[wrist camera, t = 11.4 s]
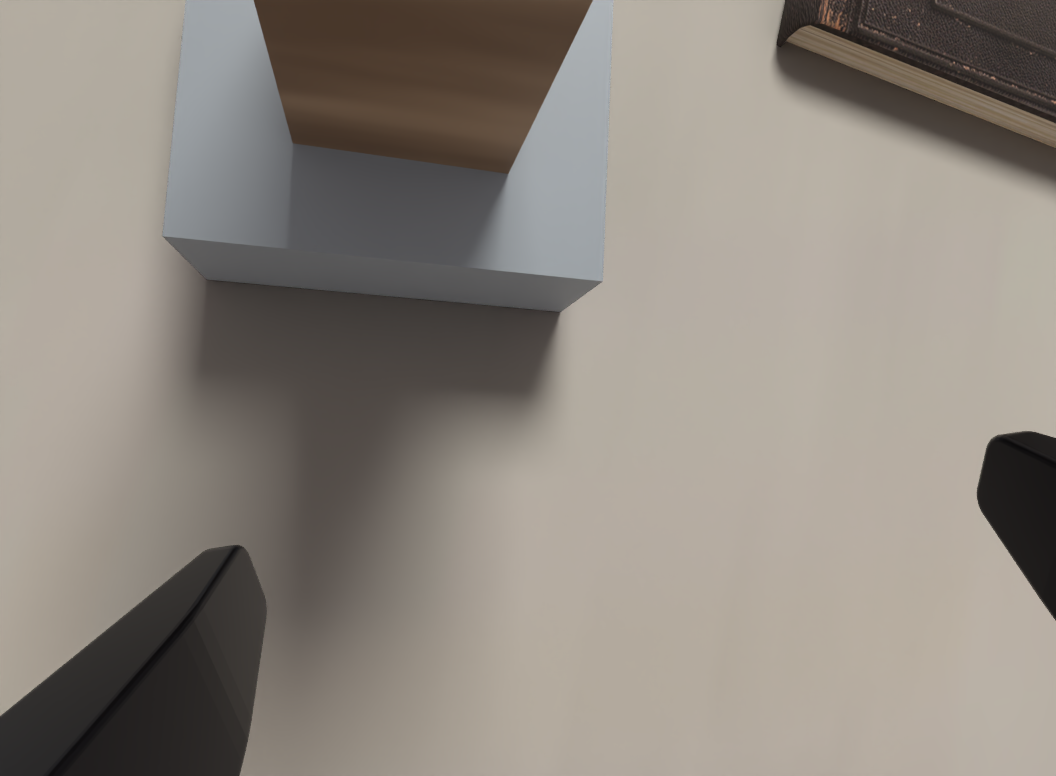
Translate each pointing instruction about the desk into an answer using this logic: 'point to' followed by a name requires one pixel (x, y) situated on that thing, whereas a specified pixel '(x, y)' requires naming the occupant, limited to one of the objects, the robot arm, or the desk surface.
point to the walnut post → (418, 73)
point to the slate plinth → (382, 186)
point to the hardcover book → (944, 52)
